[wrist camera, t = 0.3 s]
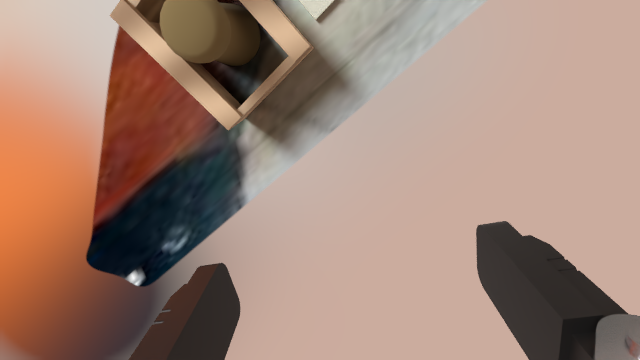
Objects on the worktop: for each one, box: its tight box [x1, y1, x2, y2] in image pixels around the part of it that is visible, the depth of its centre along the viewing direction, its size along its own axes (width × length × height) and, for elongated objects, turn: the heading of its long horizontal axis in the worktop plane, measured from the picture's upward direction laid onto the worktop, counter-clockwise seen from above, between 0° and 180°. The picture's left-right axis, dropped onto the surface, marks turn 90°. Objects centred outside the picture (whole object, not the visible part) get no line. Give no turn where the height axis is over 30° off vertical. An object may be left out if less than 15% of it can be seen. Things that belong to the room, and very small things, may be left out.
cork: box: [160, 0, 261, 66], centre depth 28 cm, size 6×6×11 cm
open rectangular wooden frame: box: [110, 0, 314, 130], centre depth 30 cm, size 14×11×6 cm
